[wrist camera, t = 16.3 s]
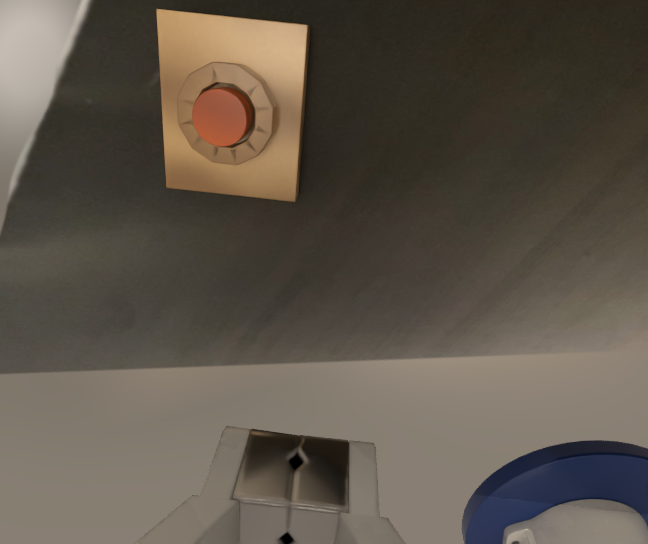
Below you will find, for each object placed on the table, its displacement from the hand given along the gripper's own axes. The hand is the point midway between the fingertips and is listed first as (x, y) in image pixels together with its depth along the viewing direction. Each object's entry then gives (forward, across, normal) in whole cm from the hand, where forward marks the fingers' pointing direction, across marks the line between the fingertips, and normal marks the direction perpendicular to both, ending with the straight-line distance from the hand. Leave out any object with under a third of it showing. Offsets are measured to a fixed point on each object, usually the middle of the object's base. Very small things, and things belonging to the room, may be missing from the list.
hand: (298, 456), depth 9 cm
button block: (+29, +8, -3) cm, 30 cm away
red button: (+25, +8, -3) cm, 27 cm away
